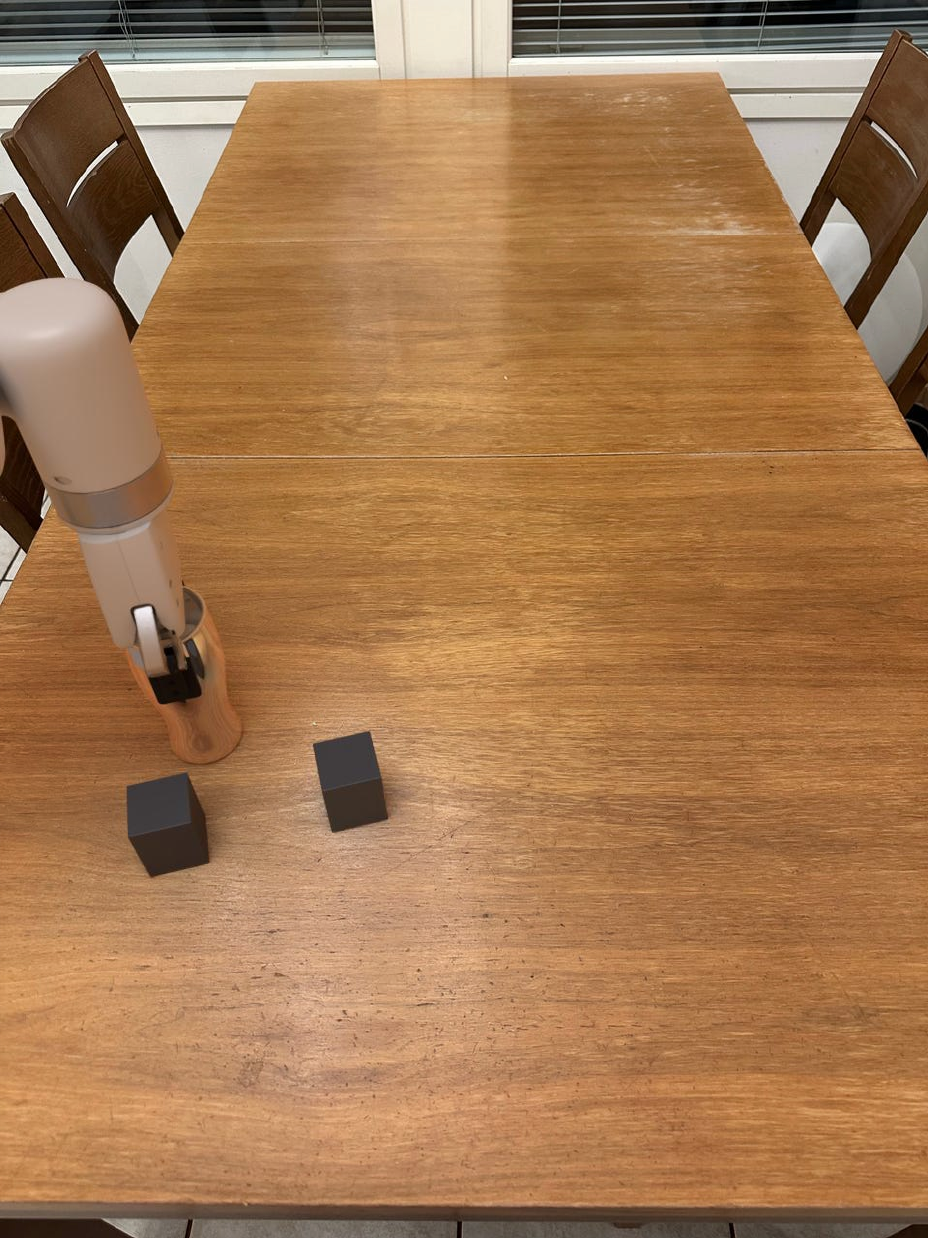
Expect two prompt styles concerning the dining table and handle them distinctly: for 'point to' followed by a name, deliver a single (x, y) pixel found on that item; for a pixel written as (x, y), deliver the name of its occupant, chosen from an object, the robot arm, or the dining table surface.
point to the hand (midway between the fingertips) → (177, 657)
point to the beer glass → (209, 719)
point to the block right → (350, 781)
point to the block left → (167, 824)
